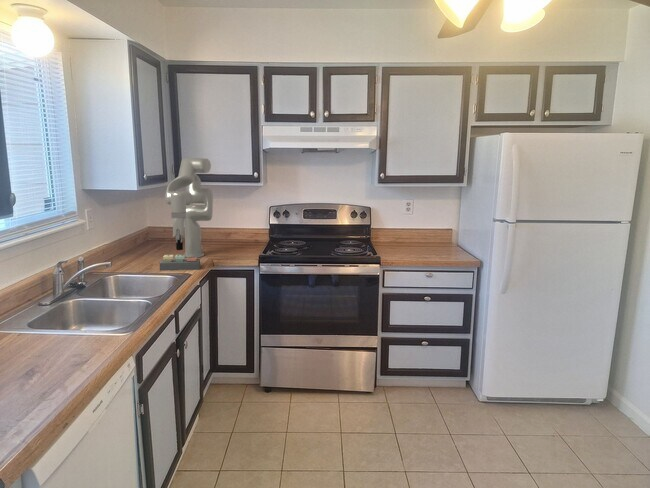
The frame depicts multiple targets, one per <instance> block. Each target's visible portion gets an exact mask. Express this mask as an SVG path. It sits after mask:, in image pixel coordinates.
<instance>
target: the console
mask: <svg viewBox="0 0 650 488" xmlns="http://www.w3.org/2000/svg"><path fill="white" fill-rule="evenodd" d="M200 267H201V258H197V260H196V261H192V262H189V261H187V258H185V259H184V262H177V259H175V258H173V259H172V262H165V259H161V260H160V262H159V271H160V272H161V271H195V270H200Z"/></svg>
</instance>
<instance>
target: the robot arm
mask: <svg viewBox="0 0 650 488" xmlns="http://www.w3.org/2000/svg"><path fill="white" fill-rule="evenodd" d="M180 161H181V162H180V167H179V171H178V176H177V177H175V178H174V179H172V180H171V182H169V184H168V185H167V187H166V191H165V195H164V200H165V203H166V204H167V205H169V206H170V216H171V219H172V238H175V247H176V248H175V250H176V251H182V250H185V251H184V252H183V254H182V255H185V258H187V257H194V256H195V257H197V258H202V257H204V256H205V254H204V253H203V252H202V251H203V250H204V248H203V247H202V228H201V225H200V224H199V223H198V222H199V221H200V222H207V221H211V220H212V218H213V210H214V209H213V208H214V207H213V205H214V194H213V190H212V189H210V188H208V187H201V186H202V185H201V183H202V180H201V178H200V176H199V175H198V174H207V173H209V172H210V171H211V167H212V165H211V161H210V160H209V159H208V158H203V157H202V158H199V157H185V158H183V159H181V160H180ZM182 188H185V191H181V190H180V189H182ZM179 190H180V191H179ZM199 204H200V205H199ZM201 204H202V205H201ZM183 237H184V243H183ZM184 246H185V247H184ZM184 248H185V249H184Z"/></svg>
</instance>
